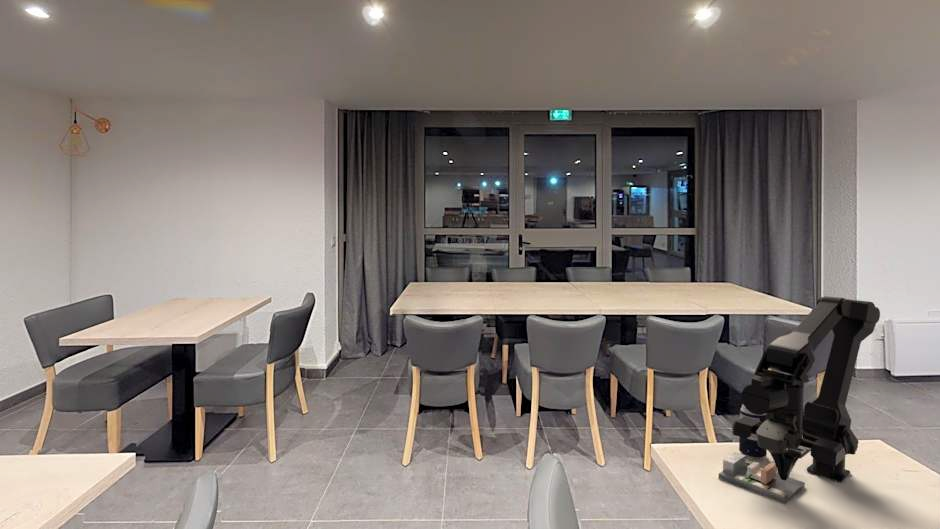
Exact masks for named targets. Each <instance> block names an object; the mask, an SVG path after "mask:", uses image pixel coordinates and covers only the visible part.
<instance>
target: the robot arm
mask: <svg viewBox="0 0 940 529" xmlns="http://www.w3.org/2000/svg"><path fill="white" fill-rule="evenodd" d="M880 318H881V311H880V308H878V307H877V306H875V303H874V302H873V301H868V300H858V299H848V298H845V297H837V296H836V297H835V296H820V297H819V298H818V299H817V302H816V305H815V306H814V307H813V308H812V310H811V311H810V312H809V313H808V314H807V316H805V317H804V318H803V320H802V321H801V322H800V323H799V324H798V325H797V326H796V328H794V330H793V331H792V332H790V333H789V334H785V335H781V336H779V337H777V338H776V339H775V340H773V341H772V342H770V343H769V344H768V345H767V347H766V348H765V349H764V351H763V354H762V356H761V358H760V361H759V362H758V364H757V367H756V369H755V371H754V376H756V377H753V378H752V379H751V380H750V381H751V384H748V385H745V387H744V388H743V390H742V391H741V393H740V398H741V402H742V404H744V406H745V407H746V409H747V410H748V411H750V412H751V413H753V414H756V415H762V414H766V413H767V415H766V419H765V421H764V422H763V423H762V422H761V421H759V420H755V419H752V418H748V417H743V418H741V419H740V418H739V419H737V420H736V421H734V422H733V424H732V426H731V429H732V430H731V434H732V435H733V436H736V437H742V438H745V439H746V438H748V437H750V436H751V433H752V434H755V435H757V440H758V446H759V447H761V448H763V449H765V448H766V449H767V452H768V453H770V456H771V457H772V458H771V459H773V463H774V464H775V465H776V471H777V472H778V474H779V476H780V478H781V479H782V480H787V478H788V477H789V476H790V474H791V472H792V470H793V468H794V467H795V464H796V463H797V461H798V460H799V459H802V458H804V457H805V456H806V455H807V454H809V453H810V456H811V457H812V463H811V464H810V465H809V466H807V467H806V471H807V472H809V473H811V474H815V475H818V476H820V477H823V478H827V479H830V480H832V481H835V482H838V483H839V482H840V483H842V482H844V481H845V480H846V479H847V478H848V477H849V475H850V474H851V470H849V469H846V456H847V455H856V452H857V451H858V448H859V446H858V445H859V440H858V438H857V437H856V435H855V434H854V431H853V430H852V429H851V424H852V419H851V417H850V414H849V411H848V409H847V407H846V403H847V400H848V396H849V392H850V387H851V383H852V379H853V375H854V372H855V367H856V364H857V360H858V355H859V351H860V347H861V344H862V342H863V341H864V340H865V339H867V337H869V336H870V335H872V333H874V330H875V328H876V324H877V323H879V321H880ZM830 332H832V333H833V337H832V342H831V346H830V350H829V353H828V358H827V362H826V365H825V370H824V373H823V377H822V381H821V384H820V389H819V392H818V397H816V398H815V399H814V400H813V401H811V402H810V401H807V402H805V404H804V394H805V392H804V391H805V390H804V389H805V388H804V387H805V386H804V385H805V384H807V383H809V382H810V379H809V378H808V377H807V374H808V373H809V372H810V371H811V370H812V367H813V364H814V363H815V362H816V357H815V351H816V350H817V348H818V347H819V345H820V344H821V343H822V342H823V341H824V340H825V338H826V337H827V336H828V335H829V333H830Z"/></svg>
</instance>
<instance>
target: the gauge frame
mask: <svg viewBox="0 0 940 529" xmlns="http://www.w3.org/2000/svg"><path fill="white" fill-rule="evenodd" d="M722 461H723V462H722V470H721V471H720V472H719V473H718V479H720V480H721V481H722V480H723V481H725V482H727V483H730V484H733V485H735V486H738V487H740V488H743V489H746V490H748V491H750V492H753V493H756V494H759V495H762V496H763V497H766V498H769V499H771V500H774V501H776V502H779V503H781V504H784V505H786V504H788V503H789V502H790V501H791V500H792V499H794V497H796V496H797V495H798V494H799V493H800V492H801V491H802V490H803V489H805V485H806V483H805V482H804V481H801V480H797V479H795V478H792V477H789V476H788V478H787V480H782V479H781V478H780V476H779V473H777V472H776V477H775V478H773V479H772V480H771V481H770V482H768V483H767V484H764V483H761V481H759V480H756V479H753V478H751V477H750V478H749V479H746V477H747V466H749V465H750V464H751V463H750V462H747V457H746V455H743V454H742V453H739V452H737V451H735V452H734V453H732V454H730V455H728V456H726V457H725V458H724V459H722ZM759 467H760V466H759ZM760 468H762V467H760Z"/></svg>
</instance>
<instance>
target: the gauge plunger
mask: <svg viewBox="0 0 940 529" xmlns="http://www.w3.org/2000/svg"><path fill="white" fill-rule="evenodd" d="M749 464H750V465H749V466H747V477H746V479H749V478H750V477H751V478H753V479H756V480H759V481H761V483H764V484H767V483H768V482H770V481H771V480H772V479H773V478H775V477H776V473H777V467H776V465H775V462H769V464H767V465H765V466H764V467H761V468H760V463H759V462H756V461H753V462H752V463H749Z"/></svg>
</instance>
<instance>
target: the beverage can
mask: <svg viewBox="0 0 940 529" xmlns="http://www.w3.org/2000/svg"><path fill="white" fill-rule="evenodd" d="M766 415H767V413H766V414H762V415H756V414H753V413H751V412H750V411H748V410H747V409H746V407H745V406H744V404H743V403H742V404H741V408H740V409H739V419H741V418H743V417H748V418H752V419H755V420H759V421H761V422H762V423H763V422H764V421H765V419H766ZM738 437H739V436H738ZM738 441H739V442H738V451H739V452H741V453H740V454H743V455H746V458H747V457H749V458H748V459H750V458H752V459H751V460H757V459H758V460H763V458H765V457H766V456H767V455H768V454H767V452H768V450H767V449H766V448H765V449H763V448H761V447H759V446H758V440H757V435H755V434H752V433H751V436H750V437H748V438H746V439H745V438H742V437H739V440H738Z"/></svg>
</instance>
